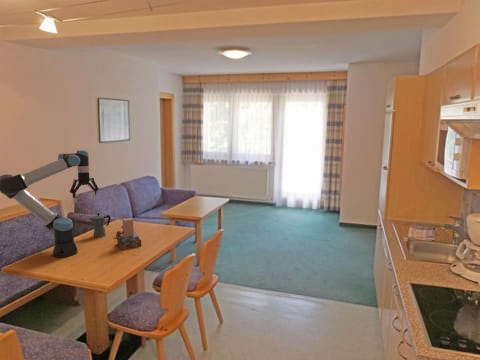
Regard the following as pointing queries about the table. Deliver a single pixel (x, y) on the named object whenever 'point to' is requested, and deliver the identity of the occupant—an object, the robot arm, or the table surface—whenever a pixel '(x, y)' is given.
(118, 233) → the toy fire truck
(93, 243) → the table surface
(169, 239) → the table surface
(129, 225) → the column brick
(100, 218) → the coffeepot
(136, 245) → the tower base
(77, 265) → the table surface
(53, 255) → the robot arm
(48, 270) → the table surface
